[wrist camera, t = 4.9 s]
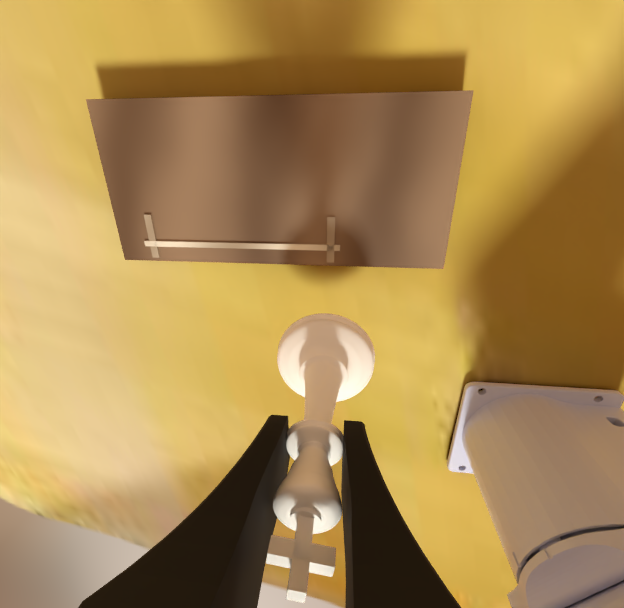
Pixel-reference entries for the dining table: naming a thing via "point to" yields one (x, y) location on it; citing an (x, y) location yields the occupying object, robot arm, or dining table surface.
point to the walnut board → (285, 176)
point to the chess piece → (315, 438)
